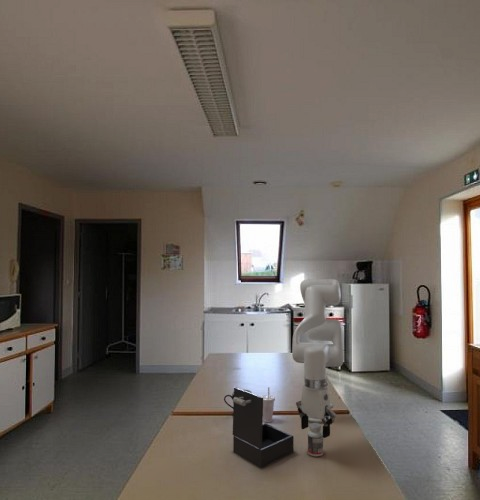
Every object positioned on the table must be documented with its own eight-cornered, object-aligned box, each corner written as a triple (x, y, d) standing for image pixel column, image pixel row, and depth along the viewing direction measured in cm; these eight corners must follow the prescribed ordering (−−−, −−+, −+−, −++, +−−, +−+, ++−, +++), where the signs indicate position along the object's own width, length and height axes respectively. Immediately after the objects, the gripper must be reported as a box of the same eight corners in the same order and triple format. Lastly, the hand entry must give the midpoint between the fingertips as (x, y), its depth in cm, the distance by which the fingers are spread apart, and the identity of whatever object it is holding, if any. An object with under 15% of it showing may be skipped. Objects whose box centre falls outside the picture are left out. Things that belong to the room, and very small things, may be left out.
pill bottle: (306, 449, 137) (306, 422, 137) (321, 449, 137) (320, 421, 137) (309, 457, 131) (309, 428, 132) (324, 456, 132) (324, 427, 132)
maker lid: (235, 387, 136) (224, 389, 133) (263, 397, 126) (251, 400, 122) (234, 434, 135) (222, 438, 132) (262, 448, 125) (250, 453, 121)
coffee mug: (255, 414, 169) (255, 391, 169) (244, 421, 162) (244, 397, 162) (234, 409, 175) (234, 387, 176) (222, 415, 168) (222, 392, 168)
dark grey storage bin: (265, 438, 145) (265, 423, 146) (293, 452, 135) (293, 435, 135) (233, 452, 135) (233, 435, 135) (261, 468, 124) (261, 450, 124)
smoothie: (273, 424, 159) (273, 390, 159) (258, 423, 160) (258, 389, 160) (276, 418, 165) (276, 385, 165) (261, 417, 166) (261, 384, 167)
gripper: (341, 386, 131) (342, 437, 130) (303, 376, 144) (303, 422, 143) (328, 390, 126) (328, 443, 125) (289, 379, 139) (290, 427, 138)
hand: (315, 432), depth 134 cm, fingers open, 9 cm apart
